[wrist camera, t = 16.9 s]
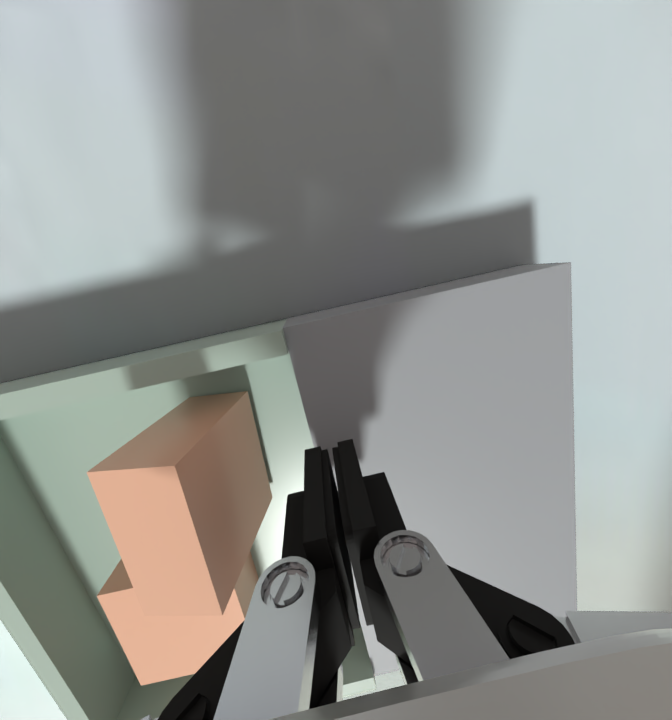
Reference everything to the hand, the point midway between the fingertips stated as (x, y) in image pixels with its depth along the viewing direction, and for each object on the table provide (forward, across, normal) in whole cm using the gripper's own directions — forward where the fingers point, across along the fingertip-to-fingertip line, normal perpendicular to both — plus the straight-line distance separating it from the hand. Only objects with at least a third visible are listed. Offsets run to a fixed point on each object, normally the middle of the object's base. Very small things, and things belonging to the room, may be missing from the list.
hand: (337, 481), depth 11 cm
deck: (+4, -4, +3) cm, 7 cm away
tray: (+4, +7, +3) cm, 9 cm away
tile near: (0, +3, 0) cm, 3 cm away
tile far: (+1, +8, +6) cm, 9 cm away
